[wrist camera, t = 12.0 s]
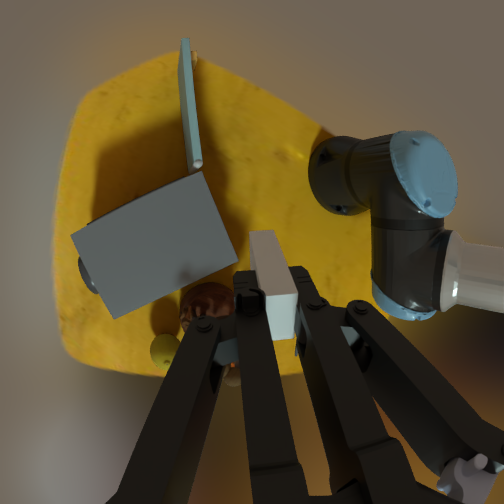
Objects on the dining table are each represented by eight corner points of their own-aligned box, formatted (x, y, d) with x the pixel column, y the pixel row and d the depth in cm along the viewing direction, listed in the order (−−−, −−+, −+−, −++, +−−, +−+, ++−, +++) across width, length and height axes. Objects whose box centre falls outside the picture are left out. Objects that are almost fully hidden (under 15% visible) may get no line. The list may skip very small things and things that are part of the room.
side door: (202, 173, 41) (213, 165, 31) (188, 175, 41) (194, 167, 30) (190, 69, 37) (198, 37, 27) (177, 70, 36) (181, 38, 26)
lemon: (178, 355, 46) (181, 381, 38) (148, 349, 44) (147, 374, 37) (184, 329, 45) (188, 353, 38) (153, 322, 44) (152, 346, 36)
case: (193, 176, 41) (200, 168, 31) (222, 246, 45) (238, 260, 34) (82, 229, 37) (57, 240, 27) (115, 296, 41) (102, 325, 30)
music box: (164, 331, 44) (169, 399, 25) (178, 272, 44) (190, 309, 25) (244, 347, 49) (289, 408, 31) (261, 292, 49) (319, 333, 30)
